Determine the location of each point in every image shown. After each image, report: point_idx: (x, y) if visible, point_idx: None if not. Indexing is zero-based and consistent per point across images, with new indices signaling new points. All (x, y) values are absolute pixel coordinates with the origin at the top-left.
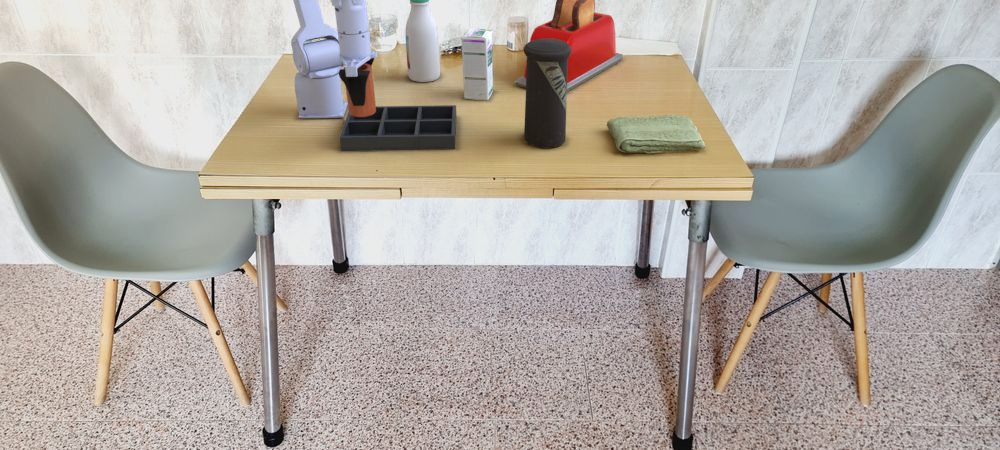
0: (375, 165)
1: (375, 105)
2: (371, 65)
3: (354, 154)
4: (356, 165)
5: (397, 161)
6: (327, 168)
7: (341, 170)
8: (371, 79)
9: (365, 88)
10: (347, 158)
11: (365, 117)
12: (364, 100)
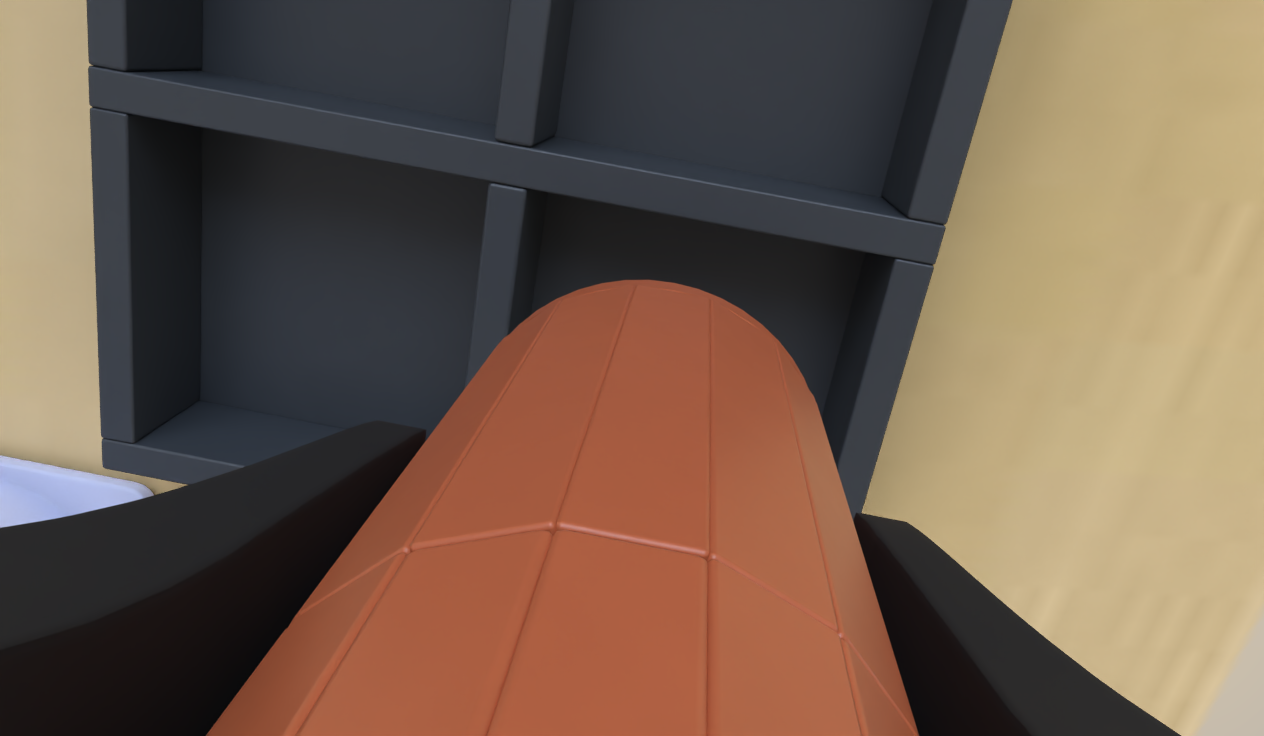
0: (1210, 282)
1: (652, 300)
2: (74, 632)
3: (913, 441)
4: (1139, 440)
5: (1214, 62)
6: (1101, 649)
7: (1183, 557)
8: (745, 566)
9: (1076, 684)
10: (973, 499)
11: (195, 303)
12: (947, 558)
